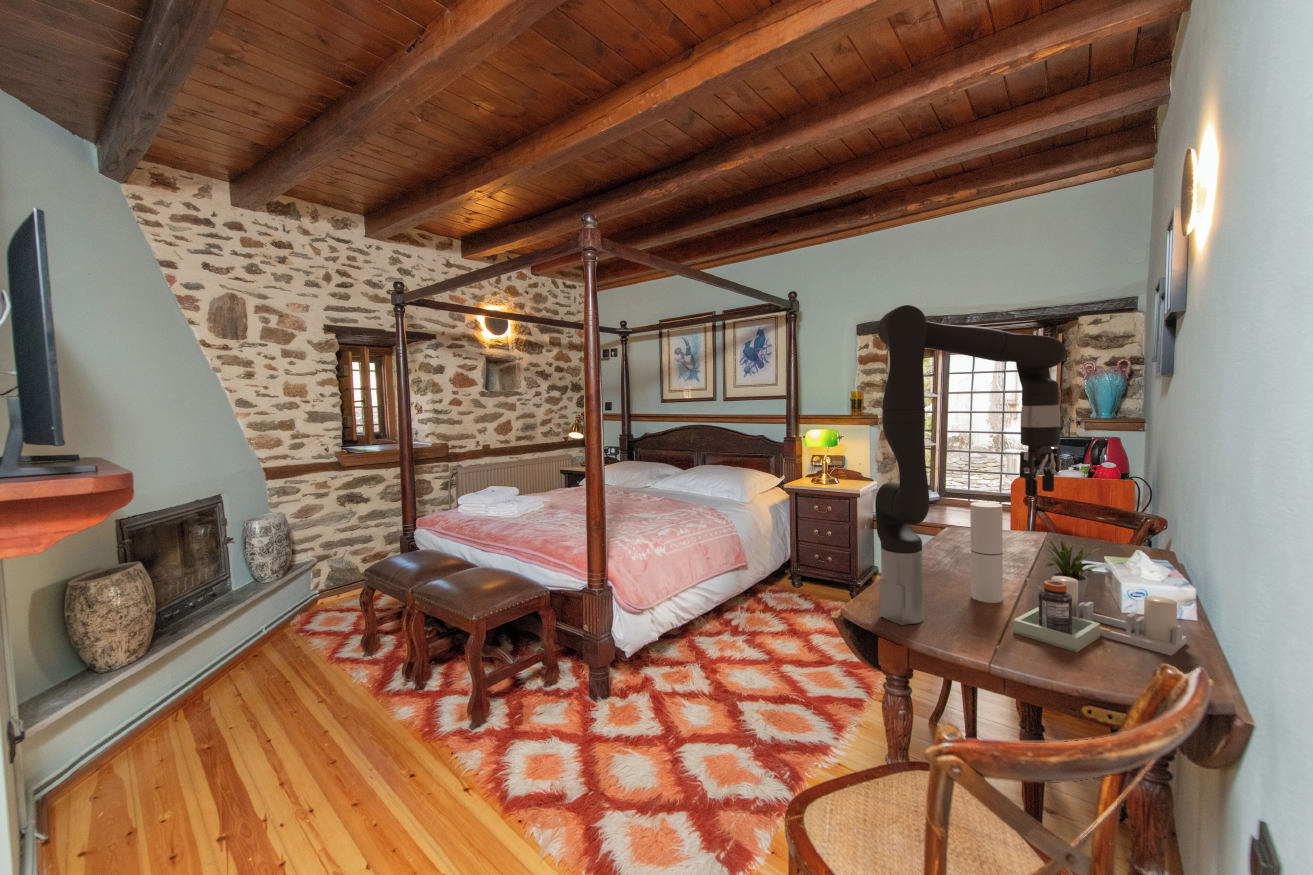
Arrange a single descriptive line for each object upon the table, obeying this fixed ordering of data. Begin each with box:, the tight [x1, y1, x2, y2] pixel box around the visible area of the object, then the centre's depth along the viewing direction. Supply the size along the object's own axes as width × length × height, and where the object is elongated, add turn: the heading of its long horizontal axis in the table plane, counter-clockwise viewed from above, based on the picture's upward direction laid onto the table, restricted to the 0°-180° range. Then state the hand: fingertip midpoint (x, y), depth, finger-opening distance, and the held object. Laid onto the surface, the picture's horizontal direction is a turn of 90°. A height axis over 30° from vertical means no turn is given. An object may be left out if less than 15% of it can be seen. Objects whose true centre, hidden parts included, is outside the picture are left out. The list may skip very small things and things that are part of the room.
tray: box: [1012, 606, 1101, 653], centre depth 119 cm, size 12×12×3 cm
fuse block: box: [1051, 576, 1187, 656], centre depth 119 cm, size 9×23×10 cm, turn 32°
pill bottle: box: [1038, 579, 1072, 635], centre depth 118 cm, size 6×6×11 cm
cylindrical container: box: [969, 501, 1004, 604], centre depth 141 cm, size 7×7×25 cm
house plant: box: [1037, 536, 1103, 604], centre depth 138 cm, size 14×14×16 cm
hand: (1040, 493), depth 126 cm, fingers open, 8 cm apart
